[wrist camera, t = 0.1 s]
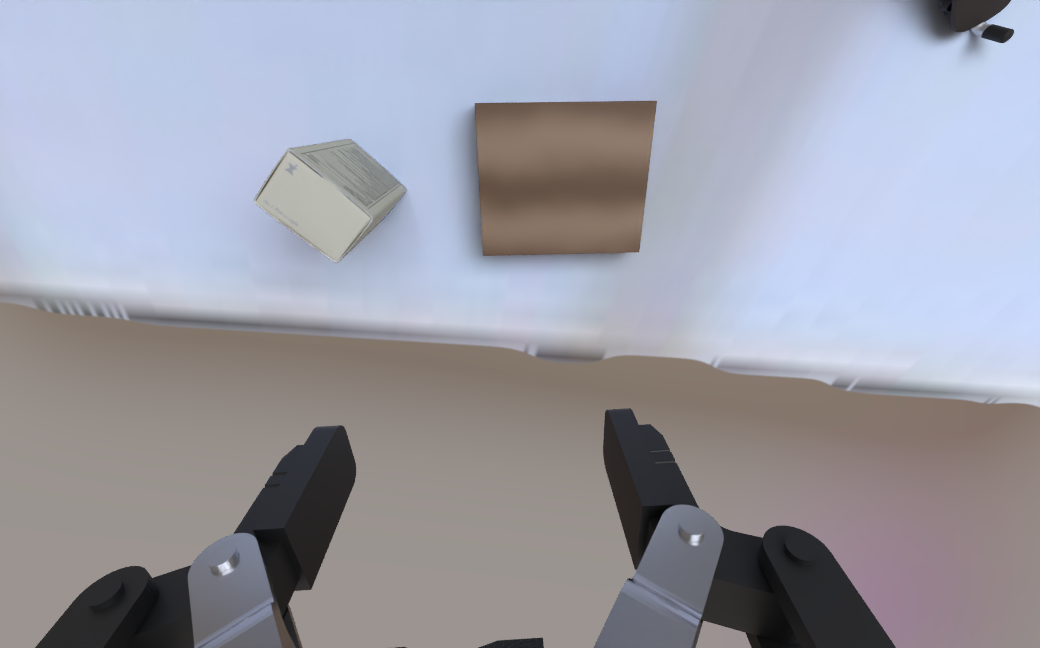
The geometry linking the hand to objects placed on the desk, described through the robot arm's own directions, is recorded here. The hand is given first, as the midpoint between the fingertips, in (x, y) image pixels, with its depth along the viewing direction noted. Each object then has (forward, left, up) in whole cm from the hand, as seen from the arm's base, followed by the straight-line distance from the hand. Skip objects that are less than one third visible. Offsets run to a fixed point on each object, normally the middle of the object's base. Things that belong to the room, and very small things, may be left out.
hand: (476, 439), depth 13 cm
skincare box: (-4, -11, -29) cm, 32 cm away
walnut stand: (-4, +6, -29) cm, 30 cm away
